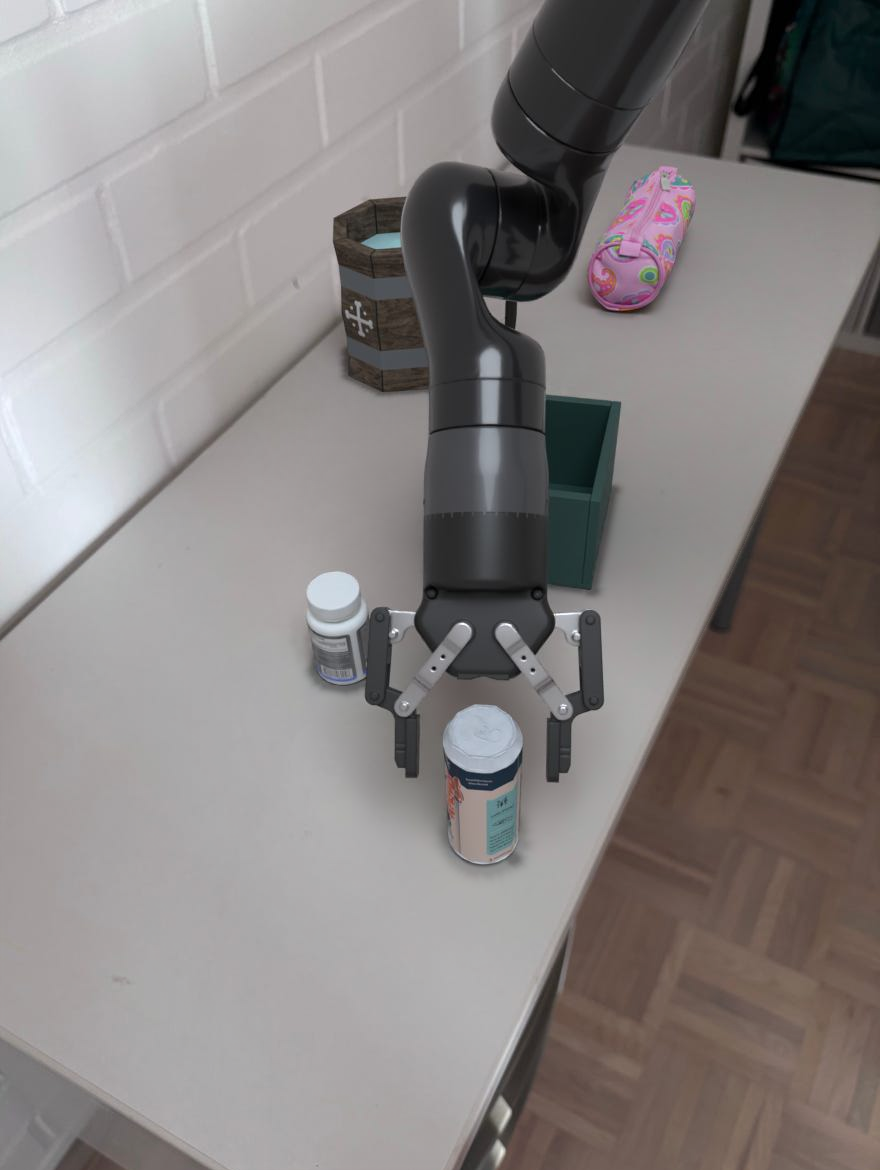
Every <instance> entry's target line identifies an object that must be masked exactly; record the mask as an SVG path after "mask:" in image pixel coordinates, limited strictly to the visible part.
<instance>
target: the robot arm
mask: <svg viewBox="0 0 880 1170" xmlns="http://www.w3.org/2000/svg"><path fill="white" fill-rule="evenodd" d="M710 3H711V0H543V2H542V4H541V5H540V8H539V9H538V12H537V13H536V16H535V17H534V19H533V21H532V23H531V25H530V28H529V29H528V31H527V33H526V34H525V37H524V39H523V41H522V43H521V44H520V46H519V48H518V50H517V52H516V54H515V56H514V58H513V60H512V62H511V64H510V66H509V67H508V69H507V71H506V73H505V75H504V77H503V78H502V81H501V83H500V85H499V87H498V90H497V92H496V94H495V97H494V100H493V102H492V106H491V110H490V121H489V122H490V129H491V134H492V138H493V140H494V142H495V144H496V146H497V148H498V149H499V151H500V153H501V154H502V155H503V156H504V157H505V159H506V160H507V161H508V162H509V163H510V164H511V165H512V166H513V167H514V168H515V169H516V170H518V171H519V172H521V173H522V174H519V173H514V172H509V171H503V170H501V169H500V170H499V169H494V168H490V167H485V166H484V167H483V166H481V165H476V164H470V163H467V162H460V161H451V160H450V161H449V160H447V161H445V160H444V161H440V162H436V163H434V164H432V165H430V166H429V167H427V168H425V170H422V172H421V173H420V174H419V175H418V176H417V177H416V179H415V180H414V182H413V184H412V185H411V187H410V189H409V190H408V191H407V192H408V193H407V195H406V196H407V197H406V196H405V197H406V201H405V204H404V207H403V211H402V217H401V226H400V239H401V251H402V257H403V262H404V267H405V271H406V276H407V279H408V283H409V287H410V290H411V294H412V298H413V301H414V305H415V308H416V312H417V316H418V321H419V325H420V330H421V335H422V339H423V344H424V348H425V352H426V357H427V362H428V369H429V389H428V429H427V430H428V437H427V450H426V458H425V464H424V472H423V501H422V502H423V503H422V504H423V516H422V517H423V524H422V525H423V527H422V530H423V531H422V535H423V536H422V538H423V539H422V596H421V601H420V604H419V606H418V608H417V609H416V611H413V610H401V609H400V610H399V609H391V608H390V607H389V606H379V607H375V608H374V609H372V610H371V612H370V614H369V620H370V625H369V640H368V654H367V669H366V677H365V686H364V699H365V701H366V703H367V704H369V705H370V706H375V707H379V708H382V709H384V710H387V711H388V712H389V713H391V715H392V716H393V719H394V762H395V765H396V768H397V769H404V776H405V779H418V777H419V774H420V754H421V753H420V744H421V742H420V741H421V740H420V739H421V738H420V737H421V714H419V713H417V711H418V710H417V707H419V705H420V704H421V703H422V701H423V700H424V698H426V696H427V695H428V693H429V692H430V691H431V689H432V688H433V687H434V686H435V684H436V683H437V682H438V680H439V679H440V678H441V677H442V675H443V674H444V673H446V674H447V675H448V676H451V677H452V678H456V680H460V681H471V680H476V679H479V678H488V679H491V680H494V681H508V682H509V681H510V680H511V679H514V678H517V677H518V676H520V675H523V676H524V678H525V679H526V680H527V681H528V683H529V684H530V686H531V687H532V688H533V689H534V691H535V692H536V694H537V695H538V696H539V697H540V699H541V700H542V701H543V702H544V705H546V707H547V708H548V709H549V717H546V735H545V737H546V738H545V739H546V740H545V741H546V742H545V743H546V746H545V778H546V783H549V784H550V783H553V784H554V783H555V784H558V783H560V774H568V772H569V770H570V768H571V766H572V726H573V722H574V720H575V718H576V717H578V716H580V715H582V714H585V713H588V712H591V711H593V712H594V711H595V712H596V711H599V710H600V709H602V707H603V706H604V704H605V689H604V667H603V666H604V665H603V664H604V663H603V645H602V644H603V642H602V641H603V640H602V639H603V638H602V622H601V621H602V618H601V615H600V614H599V612H597V611H596V610H594V609H592V608H584V609H582V610H580V611H568V612H554V611H553V610H552V609H551V608H552V607H551V606H550V603H549V599H548V584H547V570H548V509H549V503H550V500H549V470H548V461H547V453H546V442H545V407H546V395H547V362H546V361H547V360H546V354H545V351H544V349H543V347H542V345H541V344H540V342H538V341H537V340H536V339H534V338H532V337H531V336H530V335H527V334H526V333H523V332H521V331H519V330H516V328H515V329H512V328H510V327H508V326H506V325H505V323H503V322H501V321H499V320H498V319H497V318H496V317H495V316H493V314H492V313H491V311H490V309H489V307H488V305H487V303H486V300H485V298H488V299H495V300H501V301H505V302H506V301H513V302H517V303H532V302H534V301H535V302H536V301H538V300H539V299H542V298H545V297H546V296H548V295H549V294H551V293H552V292H553V291H555V290H556V289H557V288H559V287H560V286H561V285H562V284H563V283H564V282H565V280H566V279H567V278H568V276H569V275H570V273H571V271H572V270H573V268H574V266H575V263H576V261H577V258H578V257H579V253H580V249H581V246H582V242H583V240H584V237H585V232H586V230H587V227H588V223H589V221H590V218H591V216H592V212H593V210H594V207H595V205H596V202H597V200H598V197H599V194H600V192H601V188H602V186H603V184H604V180H605V177H606V175H607V173H608V170H609V167H610V165H611V162H612V160H613V158H614V157H615V156H616V154H617V153H618V152H619V150H620V149H621V148H622V146H623V145H624V142H625V141H626V140H627V139H628V137H629V136H630V134H631V133H632V132H633V129H634V128H635V127H636V125H637V124H638V123H639V121H640V119H641V118H642V117H643V115H644V113H645V112H646V110H647V109H648V108H649V107H650V105H651V104H652V102H653V101H654V99H655V97H656V96H657V95H658V93H659V92H660V89H661V88H662V87H663V85H664V83H665V82H666V80H667V79H668V78H669V76H670V75H671V73H672V71H673V69H674V68H675V67H676V65H677V63H678V61H679V60H680V58H681V56H682V55H683V53H684V51H685V50H686V49H687V46H688V45H689V43H690V41H691V39H692V37H693V36H694V34H695V32H696V30H697V28H698V26H699V24H700V22H701V21H702V19H703V16H704V14H705V13H706V10H707V9H708V7H709V5H710ZM523 174H524V175H523ZM410 628H415V631H416V632H417V634H418V635H419V637H420V638H421V640H422V642H424V644H425V645H426V647H427V648H428V649H429V651H430V653H431V655H430V657H428V659H427V660H426V662H425V663H424V664H423V665H422V667H421V668H420V669H419V670H418V672H417V673H416V674H415V676H414V677H413V678H412V679H411V681H409V682H410V683H409V684H408V685H407V686H406V687H405V689H404V690H403V691H402V690H399V689H397V688H394V687H392V686H390V680H391V669H392V668H391V667H392V656H393V655H392V653H393V645H396V644H399V643H400V642H402V641H403V640H404V638H405V634H406V632H407V630H408V629H410ZM555 629H557V630H560V631H562V633H563V635H564V638H565V641H566V643H567V644H569V645H570V646H572V647H577V655H578V656H577V657H578V676H579V677H578V678H579V690H576V691H574V692H569V693H567V694H565V693H564V692H563V691H562V690H561V688H560V687H559V685H558V684H557V682H556V681H555V679H553V677H552V676H551V675H550V673H549V672H548V670H547V669H546V668H545V667H544V665H543V663H541V661H540V660H539V659H538V657H537V656H536V655H537V654H538V653H539V651H540V650H541V649H542V647H543V646H544V645H545V644H546V642H547V641H548V639H549V638H550V636H551V635H552V634H553V632H554V631H555Z"/></svg>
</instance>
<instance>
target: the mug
mask: <svg viewBox="0 0 880 1170" xmlns="http://www.w3.org/2000/svg"><path fill="white" fill-rule="evenodd" d="M406 197H407V195H406V196H394V197H393V196H392V197H383V198H369V199H367V200H365V201H363V202H361V203H359V204H358V205H355V206H354V207H352V208H350V209H348V210H346V211H344V212H341V213H339V214H338V215H336V216H335V217H333V219H332V220H333V223H332V244H333V248H334V252H335V256H336V262H337V264H338V274H339V282H340V302H341V304H340V306H341V316H342V320H343V327H344V330H345V335H346V336H345V337H346V343H347V352H348V376H349V377H350V378H353V379H355V380H357V381H359V382H361V383H363V384H365V385H367V386H370V387H372V388H373V389H375V390H377V391H380V392H382V393H388V392H400V391H401V392H403V391H415V390H427V389H428V390H429V369H428V362H427V357H426V352H425V348H424V344H423V339H422V335H421V330H420V325H419V321H418V316H417V312H416V308H415V305H414V301H413V298H412V294H411V290H410V287H409V283H408V279H407V276H406V271H405V267H404V262H403V257H402V251H401V239H400V226H401V217H402V211H403V207H404V204H405V201H406ZM504 304H505V305H504V309H505V310H504V325H506V326H508V327H510V328H512V329H515V330H516V326H517V316H518V302H513V301H506V300H505V303H504Z"/></svg>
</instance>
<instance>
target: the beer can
mask: <svg viewBox="0 0 880 1170" xmlns="http://www.w3.org/2000/svg"><path fill="white" fill-rule="evenodd" d="M523 738H524V737H523V733H522V731H521V728H520V726H519V725H518V723H517V722H516V721H515V720H514V719H513V718H512V715H510V714H509V713H507V712H506V711H505V710H503V709H501V708H500V707H498V706H496V705H492V704H491V705H490V704H475V703H474V704H473V705H471V706H468V707H466V708H464V709H462V710H460V711H458V712H456V714H455V715H454V717H453V718H452V719H451V720H449V722H448V723H447V725H446V727H445V729H444V731H443V734H442V747H443V750H442V751H443V765H444V766H443V767H444V781H445V782H444V784H445V798H446V815H447V817H446V818H447V834H448V835H447V837H448V841H449V844H450V847H451V848H452V849H453V851H454V852H455V853H456V854H457V855H458V856H459V857H460V858H462V859H464V860H465V861H468V862H470V863H473V864H477V865H491V864H495V863H498V862H499V863H500V862H501V861H503V860H504V859H506V858H508V857H509V856H510V855H511V854H512V853H513V852H514V850H515V849H516V847H517V844H518V842H519V838H520V826H521V825H520V824H521V823H520V822H521V798H522V775H523V773H522V772H523V752H524V751H523V750H524V739H523Z"/></svg>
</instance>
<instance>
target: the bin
mask: <svg viewBox="0 0 880 1170" xmlns="http://www.w3.org/2000/svg"><path fill="white" fill-rule="evenodd" d="M621 410H622V401H618V400H609V399H608V400H607V399H598V398H586V397H576V396H565V395H554V394H546V407H545V442H546V453H547V461H548V470H549V500H550V503H549V509H548V570H547V585H555V586H562V587H570V588H577V589H584V590H589V591H591V590H592V587H593V583H594V577H595V572H596V567H597V562H598V558H599V552H600V548H601V543H602V537H603V532H604V527H605V523H606V519H607V513H608V508H609V503H610V499H611V493H612V487H613V479H614V470H615V463H616V454H617V446H618V444H617V443H618V435H619V426H620V417H621V412H622V411H621Z"/></svg>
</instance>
